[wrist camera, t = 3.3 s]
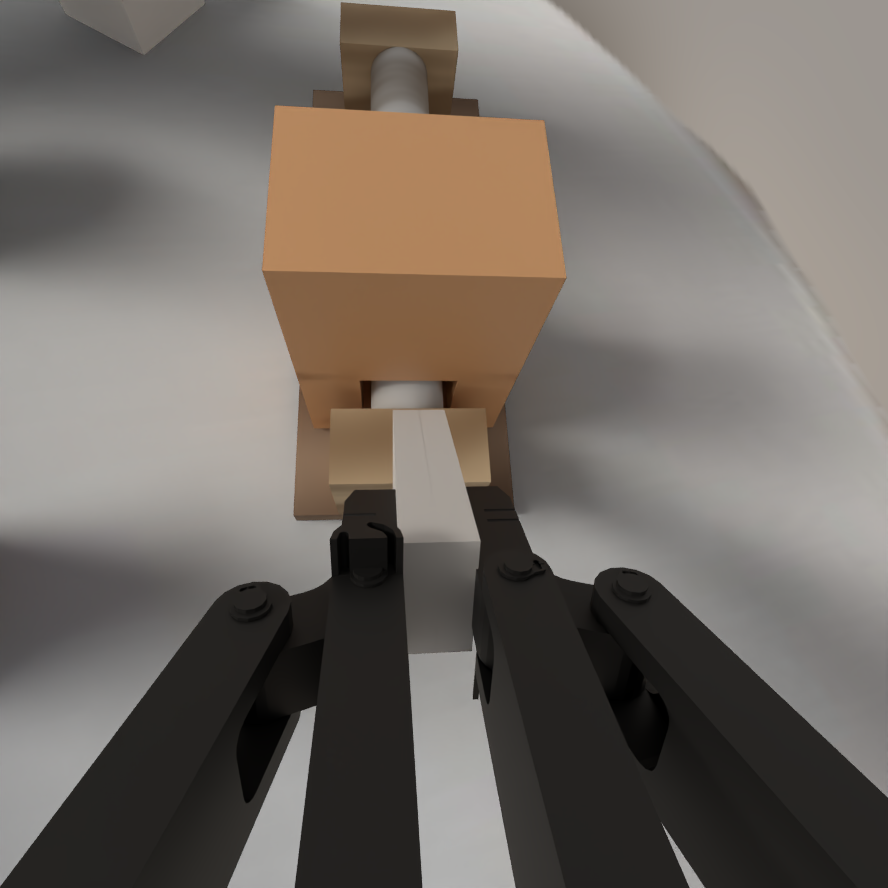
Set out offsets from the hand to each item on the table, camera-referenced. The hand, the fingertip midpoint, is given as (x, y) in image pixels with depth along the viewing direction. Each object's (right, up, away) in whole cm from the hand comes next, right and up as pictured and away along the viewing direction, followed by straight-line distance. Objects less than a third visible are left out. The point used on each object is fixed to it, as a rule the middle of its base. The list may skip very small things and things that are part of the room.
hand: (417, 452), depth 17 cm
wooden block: (-1, +4, +11) cm, 11 cm away
